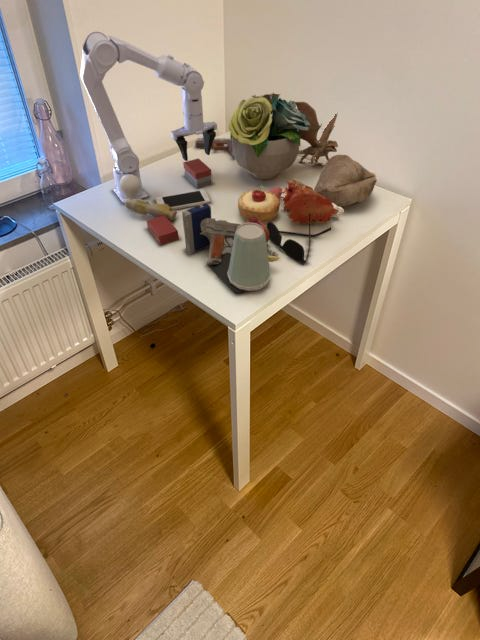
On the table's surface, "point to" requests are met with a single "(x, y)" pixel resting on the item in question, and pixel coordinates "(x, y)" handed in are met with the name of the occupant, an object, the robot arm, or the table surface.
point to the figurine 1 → (150, 208)
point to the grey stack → (198, 180)
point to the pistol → (217, 237)
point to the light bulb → (130, 186)
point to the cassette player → (195, 227)
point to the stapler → (338, 210)
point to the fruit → (255, 220)
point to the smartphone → (184, 199)
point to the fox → (273, 258)
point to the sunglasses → (291, 242)
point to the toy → (272, 253)
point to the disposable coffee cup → (249, 258)
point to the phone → (225, 272)
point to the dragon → (315, 135)
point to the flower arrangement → (266, 134)
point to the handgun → (217, 144)
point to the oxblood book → (197, 168)
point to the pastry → (258, 205)
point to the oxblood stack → (162, 230)
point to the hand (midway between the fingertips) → (196, 156)
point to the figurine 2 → (278, 192)
